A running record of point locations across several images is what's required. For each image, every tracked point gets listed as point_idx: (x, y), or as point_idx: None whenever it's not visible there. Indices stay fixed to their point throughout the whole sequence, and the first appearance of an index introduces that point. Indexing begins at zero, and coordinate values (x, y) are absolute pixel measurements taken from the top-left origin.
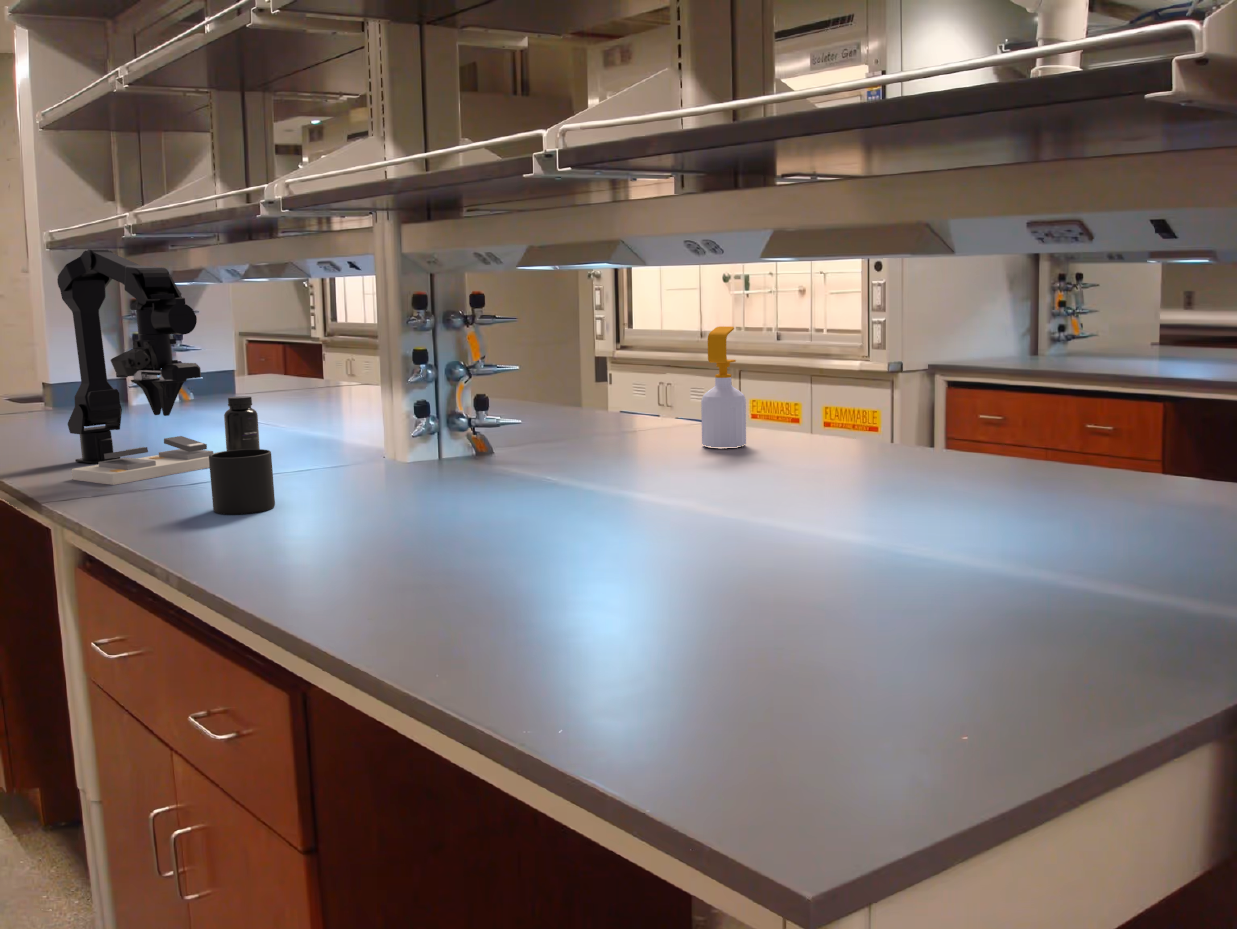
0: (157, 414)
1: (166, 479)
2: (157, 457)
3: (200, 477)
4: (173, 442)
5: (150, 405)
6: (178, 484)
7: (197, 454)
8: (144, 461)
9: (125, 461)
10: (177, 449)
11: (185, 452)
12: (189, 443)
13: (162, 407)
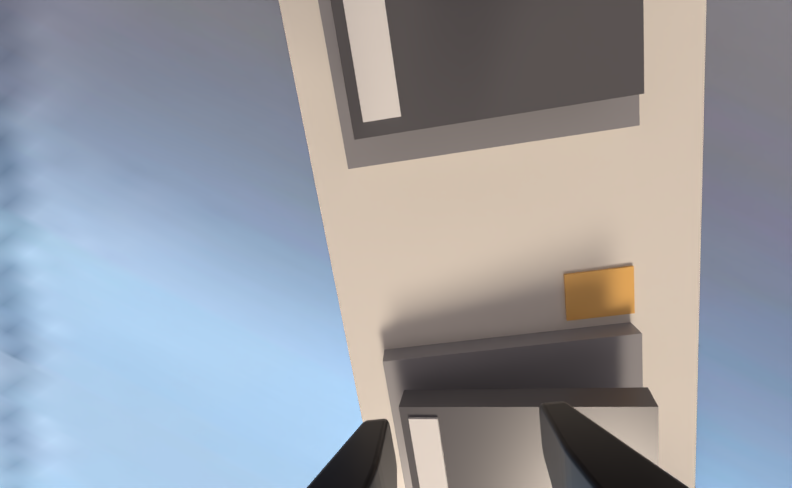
0: (542, 427)
1: (222, 139)
2: (597, 298)
3: (152, 257)
4: None
5: (636, 461)
6: (39, 104)
7: (391, 410)
8: None
9: None
10: None
11: None
12: (469, 449)
13: (348, 474)
